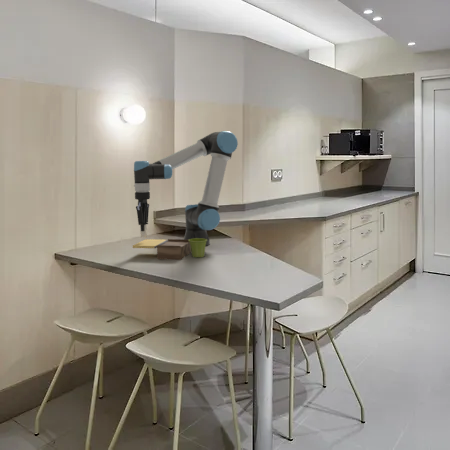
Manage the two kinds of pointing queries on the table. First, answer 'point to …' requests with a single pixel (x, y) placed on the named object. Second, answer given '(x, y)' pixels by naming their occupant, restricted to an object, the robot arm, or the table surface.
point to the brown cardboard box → (174, 249)
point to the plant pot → (197, 247)
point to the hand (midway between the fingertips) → (143, 237)
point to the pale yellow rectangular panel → (149, 243)
